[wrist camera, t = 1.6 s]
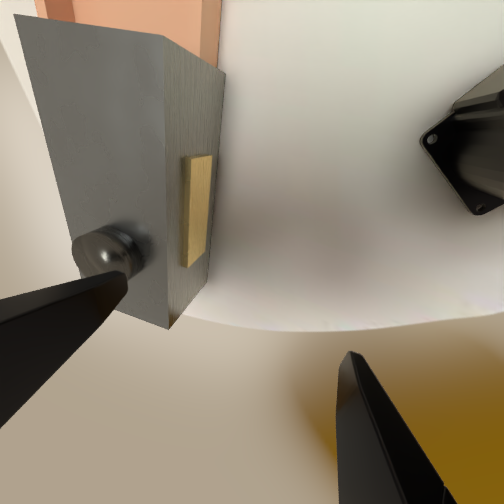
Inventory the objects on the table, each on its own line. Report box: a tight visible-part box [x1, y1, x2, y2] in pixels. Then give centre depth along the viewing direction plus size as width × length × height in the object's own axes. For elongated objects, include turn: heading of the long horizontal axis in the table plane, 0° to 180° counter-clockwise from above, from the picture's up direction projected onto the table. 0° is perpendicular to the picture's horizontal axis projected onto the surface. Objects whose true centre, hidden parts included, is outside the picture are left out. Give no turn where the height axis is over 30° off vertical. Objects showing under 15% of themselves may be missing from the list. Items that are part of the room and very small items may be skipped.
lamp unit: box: [14, 14, 225, 330], centre depth 17 cm, size 18×8×9 cm, turn 170°
